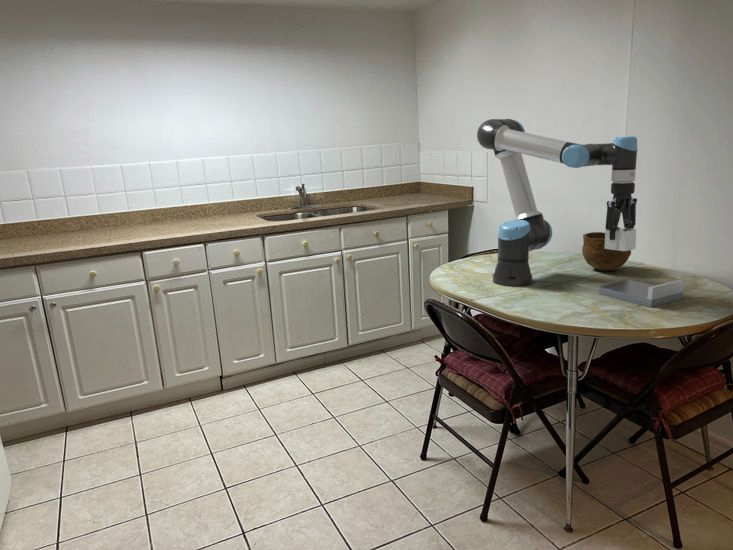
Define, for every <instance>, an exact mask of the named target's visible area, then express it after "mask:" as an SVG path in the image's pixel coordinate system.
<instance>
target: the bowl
mask: <svg viewBox="0 0 733 550" xmlns="http://www.w3.org/2000/svg"><path fill="white" fill-rule="evenodd" d="M582 237H583V245H582V248H581V253H582V256H583V259H584V260H585V262H586V264H587V265H589V266H590V267H592V268H593V269H595V270H599V271H604V272H605V271H606V272H607V271H615V270H618V269H620V268H621V267H623V265H625V264H626V263H627V261H628V260H629V258H630V256H631V255H632V250H628V251H619V250H611V249H605V232H604V231H603V232H602V231H595V232H593V231H592V232H586V233H584V234H583V235H582Z"/></svg>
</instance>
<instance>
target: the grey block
mask: <svg viewBox="0 0 733 550" xmlns="http://www.w3.org/2000/svg"><path fill="white" fill-rule="evenodd" d="M616 231H618V247H617V249H611V250H619V251H628V250H631V251H632V250H633V251H634V250H636V244H637V243H636V242H637V229H636V228H635V229H634V228H633V229H627V228H624V227H620V226H618V227H617V230H616ZM604 233H605V249H609V244H610V239H609V236H610V231H609V230H607V229H606V228H604Z"/></svg>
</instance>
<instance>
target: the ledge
mask: <svg viewBox="0 0 733 550" xmlns="http://www.w3.org/2000/svg"><path fill="white" fill-rule="evenodd" d="M684 283H685V280H684V279H677V280H676V279H675V280H672V281H668V282H665V283H664V282H663V283H661V284H656V285H655V284H650V283H646V282H640V281H636V280H633V279H628V280H627V279H626V280H622V281H619V282H614V283H610V284H606V285H605V284H604V285H601V286H598V294H599V295H603V296H606V297H611V298H613V299H614V298H615V299H618V300H622V301H626V302H629V303H632V304H637V305H640V306H644V307H649V308H654V307H657V306H660V305H664V304H669V303H672V302H675V301H680V300H682V299H683V292H684V287H685V286H684V285H685V284H684Z"/></svg>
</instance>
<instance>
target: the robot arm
mask: <svg viewBox="0 0 733 550" xmlns="http://www.w3.org/2000/svg"><path fill="white" fill-rule="evenodd" d="M476 138H477V139H476V140H477V142H478V143H479V144H480V146H481V147H483V148H485V149H487V150H493V153H494V156H495V158H497V159H499V161H500V165H501V167H502V170H503V175H504V178H505V182H506V185H507V189H508V194H509V197H510V201H511V204H512V207H513V211H514V215H515V217H514V219H513V220H507V221H504V222H502V223H501V224H499V227H498V233H497V238H498V239H497V262H496V265H495V269H494V272H493V273H492V282H493V283H494V284H497V285H501V286H507V287H508V286H510V287H520V286H521V287H522V286H527V285H530V284H532V283H533V275H532V271H531V268H530V264H529V258H530V257H529V255H530V252H531V251H537V250H540V249H542V248H544V247H546V246H547V245H548V244H549V243H550V241H552V237H553V228H552V226H551V225H552V224H550V223H549V222H548V221H547V220H546V219H545V218H544V215H543V213H542V212H541V211H539V210H538V209H537V205H536V201H535V198H534V195H533V190H532V187H531V183H530V179H529V176H528V172H527V168H526V165H525V161H524V159H523V157H524V156H523V155H526V156H529V157H533V158H534V157H535V158H539V159H542V160H547V161H551V162H555V163H560V164H563V165H565V166H567V167H568V168H574V169H579V168H585V167H591V166H592V167H593V166H611V178H610V180H611V182H612V183H611V184H610V194H612V195H613V196H612V200H607V201H606V215H605V216H606V217H605V228H604V229H607V230H609V231H610V236H609V239H610V244H609V249H617V247H618V231H616V230H617V227H619V223H620V219H621V216H622V222H623V228H627V229H634V228H635V226H636V221H637V220H636V217H637V216H636V215H637V212H636V211H637V202H638V199H637V198H636V197H635V198H634V197H632V194H634V193H635V192H636V191H635V188H636V183H635V181H636V173H637V172H636V171H637V170H636V169H637V157H638V150H639V149H638V138H637V137H636V136H635V135H634V136H633V135H632V136H618V137H617V136H616V137H614V138H613V141H612V142H610V143H586V144H581V143H575V142H569V141H566V140H561V139H557V138H556V139H555V138H551V137H547V136H543V135H538V134H535V133H534V134H532V133H528V132H526V130H525V127H524V126H523V124H522V123H521V122H520V121H519V120H518V121H517V120H515V119H512V118H503V119H502V118H491V119H487V120H486V121H483V122H482V123H481V124H480V125H479V127H478V129H477V133H476Z"/></svg>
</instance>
